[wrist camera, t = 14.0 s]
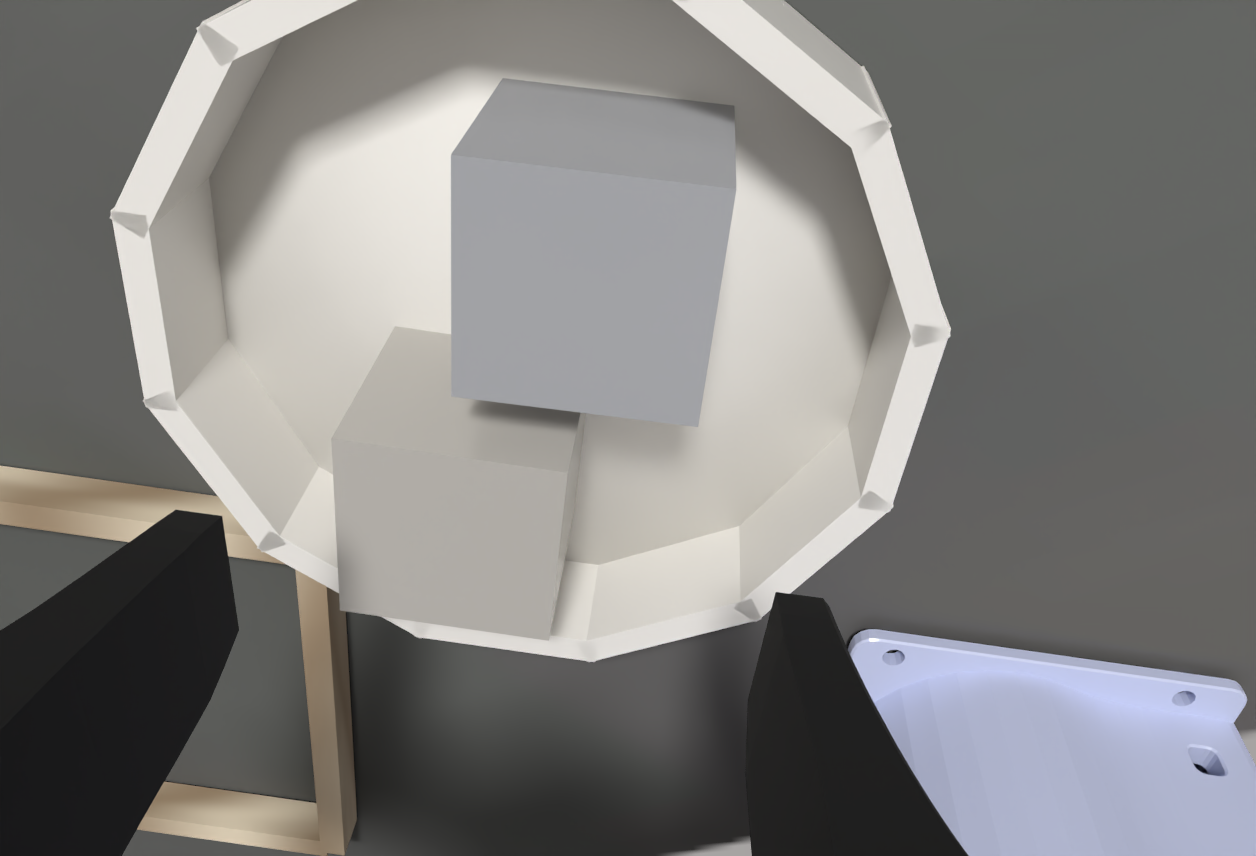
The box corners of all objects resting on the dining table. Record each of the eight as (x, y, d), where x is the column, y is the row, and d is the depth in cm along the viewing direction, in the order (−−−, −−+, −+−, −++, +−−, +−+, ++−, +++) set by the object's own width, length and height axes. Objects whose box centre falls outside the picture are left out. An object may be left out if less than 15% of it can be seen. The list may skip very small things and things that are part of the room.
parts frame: (340, 513, 24) (323, 546, 23) (357, 822, 31) (344, 859, 30) (-167, 442, 24) (-205, 472, 23) (-39, 766, 31) (-64, 801, 30)
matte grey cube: (734, 105, 17) (736, 189, 14) (702, 313, 20) (697, 427, 16) (502, 77, 18) (450, 154, 14) (497, 287, 20) (450, 396, 16)
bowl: (1010, -35, 16) (1062, 4, 14) (819, 599, 24) (830, 696, 22) (148, -156, 16) (45, -139, 14) (235, 516, 24) (179, 604, 22)
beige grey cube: (593, 355, 20) (567, 472, 17) (574, 509, 23) (548, 641, 19) (395, 326, 20) (331, 438, 17) (396, 483, 23) (339, 610, 19)
